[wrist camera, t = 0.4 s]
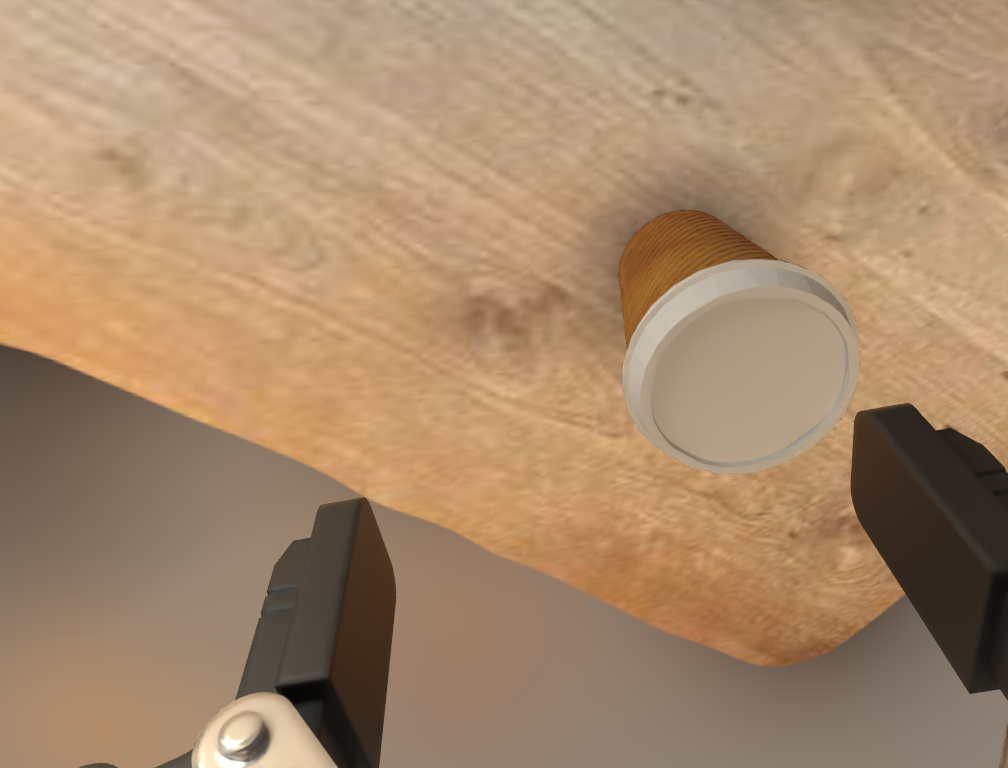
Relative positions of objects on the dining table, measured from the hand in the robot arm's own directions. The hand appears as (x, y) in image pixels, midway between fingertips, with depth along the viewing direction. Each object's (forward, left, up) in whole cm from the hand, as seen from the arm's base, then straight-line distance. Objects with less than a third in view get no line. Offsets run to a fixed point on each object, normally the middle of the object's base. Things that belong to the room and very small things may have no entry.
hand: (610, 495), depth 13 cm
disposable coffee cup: (+9, +7, -28) cm, 30 cm away
